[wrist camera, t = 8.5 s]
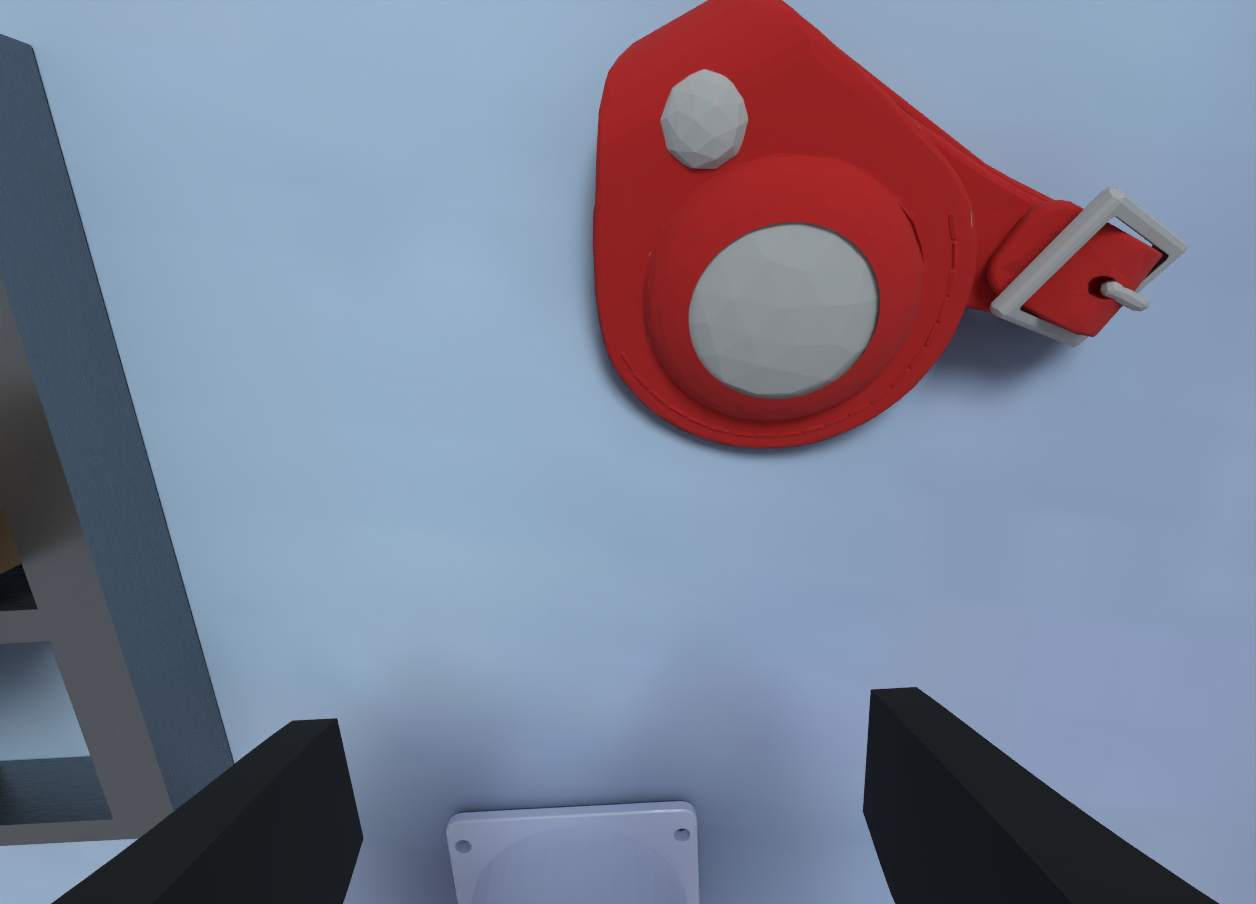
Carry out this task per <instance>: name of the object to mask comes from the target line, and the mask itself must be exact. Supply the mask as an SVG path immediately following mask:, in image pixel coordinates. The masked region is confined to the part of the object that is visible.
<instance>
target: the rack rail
mask: <svg viewBox="0 0 1256 904" xmlns="http://www.w3.org/2000/svg"><path fill="white" fill-rule="evenodd" d="M0 504H1V507H2V510H3V513H4V516H5V518H6V521H7V524H8V527H9V530H10V532H11V535H12V538H13V541H14V544H15V546H16V549H17V552H18V555H19V557H20V560H21V563H22V566H23V569H10V570H8V571H6V572H4V573H2V574H0V644H10V643H28V642H47V641H50V644H51V647H52V650H53V652H54V655H55V658H56V661H57V663H58V666H59V669H60V672H61V675H62V677H63V680H64V683H65V686H66V689H67V691H68V694H69V697H70V700H71V703H72V705H73V708H74V711H75V714H76V716H77V719H78V722H79V725H80V728H81V730H82V733H83V736H84V739H85V742H86V744H87V747H88V750H89V753H90V756H91V757H75V758H56V759H38V760H19V761H1V762H0V846H7V845H26V844H44V843H63V842H82V841H101V840H119V839H138V838H140V837H141V836H143V835H144V834H145V833H147V832H148V831H149V830H150V829H152V828H153V827H154V826H156V825H157V824H158V823H159V822H161V821H162V820H163V819H165V818H166V817H167V816H168V815H170V814H171V813H172V812H174V811H175V810H176V809H177V808H179V807H180V806H181V805H183V804H184V803H185V802H187V801H188V800H189V799H190V798H192V797H193V796H194V795H196V794H197V793H198V792H199V791H201V790H202V789H203V788H204V787H206V786H207V785H208V784H210V783H211V782H212V781H213V780H215V779H216V778H217V777H218V776H220V775H221V774H222V773H224V772H225V771H226V770H227V769H229V768H230V767H231V766H232V765H234V764H233V760H232V757H231V753H230V750H229V746H228V742H227V739H226V735H225V732H224V728H223V725H222V721H221V718H220V714H219V710H218V707H217V703H216V700H215V696H214V693H213V689H212V686H211V682H210V679H209V675H208V671H207V668H206V664H205V661H204V657H203V654H202V650H201V647H200V643H199V640H198V636H197V632H196V629H195V625H194V622H193V618H192V615H191V611H190V608H189V604H188V601H187V597H186V593H185V590H184V586H183V583H182V579H181V576H180V572H179V569H178V565H177V561H176V558H175V554H174V551H173V547H172V544H171V540H170V537H169V533H168V530H167V526H166V522H165V519H164V515H163V512H162V508H161V505H160V501H159V498H158V494H157V491H156V487H155V483H154V480H153V476H152V473H151V469H150V466H149V462H148V459H147V455H146V451H145V448H144V444H143V441H142V437H141V434H140V430H139V427H138V423H137V420H136V416H135V412H134V409H133V405H132V402H131V398H130V395H129V391H128V388H127V384H126V381H125V377H124V373H123V370H122V366H121V363H120V359H119V356H118V352H117V349H116V345H115V341H114V338H113V334H112V331H111V327H110V324H109V320H108V317H107V313H106V310H105V306H104V302H103V299H102V295H101V292H100V288H99V285H98V281H97V278H96V274H95V271H94V267H93V263H92V260H91V256H90V253H89V249H88V246H87V242H86V239H85V235H84V232H83V228H82V224H81V221H80V217H79V214H78V210H77V207H76V203H75V200H74V196H73V192H72V189H71V185H70V182H69V178H68V175H67V171H66V168H65V164H64V161H63V157H62V153H61V150H60V146H59V143H58V139H57V136H56V132H55V129H54V125H53V122H52V118H51V114H50V111H49V107H48V104H47V100H46V97H45V93H44V90H43V86H42V82H41V79H40V75H39V72H38V68H37V65H36V61H35V58H34V54H33V51H32V47H31V45H29V44H26V43H23V42H21V41H18V40H16V39H13V38H10V37H8V36H5V35H2V34H0Z"/></svg>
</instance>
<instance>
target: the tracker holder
mask: <svg viewBox="0 0 1256 904" xmlns="http://www.w3.org/2000/svg"><path fill="white" fill-rule="evenodd" d="M1113 217H1117V218H1118V219H1119V220H1121V221H1122V222H1123V223H1125V224H1126V225H1127V226H1129V227H1130V228H1131V229H1133V230H1134V231H1135V232H1137V233H1138V234H1139V235H1141V236H1142V237H1143V238H1145V239H1146V240H1147V241H1149V242H1150V243H1151V244H1153V245H1152V247H1150V246H1149V245H1147V244H1145V243H1143V242H1141V241H1140V240H1138V239H1136V238H1134V237H1133V236H1131V235H1129V234H1127V233H1126V232H1124V231H1122V230H1120V229H1119V228H1117V227H1115V226H1113V225H1111V224H1110V223H1108V221H1109V220H1110V219H1112V218H1113ZM1186 249H1187V245H1186V244H1185V243H1184V242H1183V241H1182V240H1180V239H1179V238H1178V237H1177V236H1175V235H1174V234H1173V233H1172V232H1171V231H1169V230H1168V229H1167V228H1166V227H1164V226H1163V225H1162V224H1161V223H1160V222H1158V221H1157V220H1156V219H1155V218H1153V217H1152V216H1151V215H1150V214H1149V213H1147V212H1146V211H1145V210H1144V209H1142V208H1141V207H1140V206H1139V205H1138V204H1136V203H1135V202H1134V201H1133V200H1131V199H1130V198H1129V197H1128V196H1126V195H1125V194H1124V193H1123V192H1122V191H1120V190H1119V189H1118V188H1113V187H1108V188H1107V189H1105V190H1103V191H1102V192H1101V193H1100V194H1099V195H1098V196H1097V197H1096V198H1095V199H1094V200H1093V201H1092V202H1091V203H1090V204H1089V205H1088V206H1087V207H1086V208H1085V209H1083V208H1081V207H1079V206H1077V205H1075V204H1074V203H1072V202H1070V201H1064V200H1053V199H1051V198H1049V197H1047V196H1045V195H1044V194H1042V193H1040V192H1038V191H1036V190H1034V189H1032V188H1030V187H1028V186H1026V185H1024V184H1022V183H1020V182H1018V181H1016V180H1014V179H1012V178H1010V177H1008V176H1006V175H1005V174H1003V173H1001V172H999V171H997V170H996V169H994V168H992V167H990V166H989V165H987V164H985V163H984V162H983V161H981V160H980V159H979V158H978V157H976V156H975V155H974V154H972V153H971V152H970V151H969V150H967V149H966V148H965V147H964V146H962V145H961V144H960V143H958V142H957V141H956V140H955V139H953V138H952V137H951V136H950V135H948V134H947V133H946V132H945V131H943V130H942V129H941V128H939V127H938V126H937V125H936V124H934V123H933V122H932V121H931V120H929V119H928V118H927V117H925V116H924V115H923V114H922V113H920V112H919V111H918V110H917V109H915V108H914V107H913V106H911V105H910V104H909V103H908V102H906V101H905V100H904V99H903V98H901V97H900V96H899V95H897V94H896V93H895V92H894V91H892V90H891V89H890V88H889V87H887V86H886V85H885V84H884V83H882V82H881V81H880V80H878V79H877V78H876V77H875V76H873V75H872V74H871V73H870V72H868V71H867V70H866V69H864V68H863V67H862V66H861V65H859V64H858V63H857V62H856V61H854V60H853V59H852V58H850V57H849V56H848V55H847V54H845V53H844V52H843V51H842V50H840V49H839V48H838V47H836V46H835V45H834V44H833V43H832V42H831V41H830V40H829V39H828V38H827V37H826V36H825V35H823V34H822V33H821V32H820V31H819V30H818V29H817V28H815V27H814V26H813V25H812V24H810V23H809V22H808V21H807V20H806V19H804V18H803V17H802V16H801V15H799V14H798V13H797V12H796V11H795V10H794V9H793V8H791V7H790V6H789V5H788V4H786V3H785V2H784V1H783V0H708V1H706V2H704V3H703V4H701V5H699V6H697V7H696V8H694V9H692V10H690V11H689V12H687V13H685V14H683V15H682V16H680V17H678V18H676V19H675V20H673V21H671V22H669V23H668V24H666V25H664V26H662V27H661V28H659V29H657V30H655V31H654V32H652V33H650V34H649V35H647V36H645V37H643V38H642V39H640V40H638V41H636V42H635V43H633V44H632V45H631V46H630V47H629V48H628V49H627V50H626V51H624V52H623V53H622V54H621V55H620V56H619V58H618V59H617V60H616V62H615V63H614V65H613V66H612V67H611V69H610V70H609V72H608V75H607V78H606V81H605V86H604V91H603V95H602V100H601V104H600V109H599V119H598V137H597V158H596V191H595V207H594V214H593V256H594V276H595V293H596V300H597V307H598V314H599V320H600V325H601V330H602V335H603V340H604V343H605V346H606V349H607V352H608V355H609V357H610V359H611V361H612V363H613V365H614V367H615V369H616V371H617V372H618V374H619V376H620V377H621V379H622V380H623V381H624V382H625V384H626V385H627V386H628V387H629V388H630V389H631V390H632V391H633V392H634V394H635V395H636V396H637V397H638V398H639V399H640V400H641V401H642V402H643V404H644V405H646V406H647V407H648V408H650V409H651V410H652V411H653V412H655V413H656V414H657V415H659V416H660V417H661V418H663V419H664V420H666V421H668V422H669V423H671V424H673V425H674V426H676V427H678V428H679V429H681V430H683V431H686V432H688V433H691V434H693V435H696V436H698V437H701V438H703V439H707V440H710V441H714V442H717V443H721V444H725V445H730V446H739V447H748V448H783V447H793V446H799V445H804V444H809V443H813V442H817V441H821V440H824V439H827V438H830V437H833V436H835V435H838V434H841V433H843V432H846V431H848V430H850V429H853V428H855V427H857V426H859V425H862V424H864V423H865V422H867V421H869V420H871V419H873V418H874V417H876V416H877V415H879V414H880V413H882V412H883V411H884V410H886V409H887V408H889V407H890V406H892V405H893V404H894V403H896V402H897V401H898V400H900V399H901V398H902V397H903V396H904V395H905V394H907V393H908V392H909V391H910V390H911V389H912V388H914V387H915V386H916V384H917V383H918V382H919V381H920V380H921V379H922V378H923V376H924V375H925V374H926V373H927V372H928V371H929V370H930V368H931V367H932V366H933V365H934V364H935V362H936V361H937V360H938V359H939V357H940V356H941V355H942V354H943V352H944V350H945V349H946V347H947V345H948V344H949V342H950V340H951V339H952V337H953V336H954V334H955V331H956V329H957V327H958V325H959V323H960V320H961V318H962V316H963V314H964V310H965V308H972V309H977V310H981V311H986V312H991V313H993V314H994V315H995V316H997V317H999V318H1002V319H1004V320H1007V321H1009V322H1012V323H1014V324H1017V325H1019V326H1022V327H1024V328H1027V329H1029V330H1032V331H1034V332H1037V333H1039V334H1042V335H1044V336H1047V337H1049V338H1052V339H1054V340H1057V341H1059V342H1062V343H1065V344H1067V345H1070V346H1073V347H1074V346H1076V345H1078V344H1080V343H1081V342H1082V341H1083V340H1085V339H1086V338H1087V337H1088V336H1090V337H1094V336H1096V335H1097V334H1098V333H1099V332H1100V330H1101V329H1102V328H1103V327H1104V326H1105V325H1106V324H1107V323H1108V321H1109V320H1110V319H1111V318H1112V317H1113V316H1114V315H1115V314H1116V312H1117V311H1118V310H1119V309H1120V308H1121V307H1122V306H1125V307H1127V308H1129V309H1131V310H1135V311H1142V310H1144V309H1146V308H1148V306H1149V304H1150V301H1149V300H1148V298H1147V297H1145V296H1143V295H1140V294H1138V292H1139V291H1141V290H1142V289H1143V288H1144V287H1145V286H1146V285H1147V284H1149V283H1150V282H1151V281H1152V280H1153V279H1154V278H1155V277H1157V276H1158V275H1159V274H1160V273H1161V272H1162V271H1163V270H1165V269H1166V268H1167V267H1168V266H1169V265H1170V264H1171V263H1173V262H1174V261H1175V260H1176V259H1177V258H1178V257H1179V256H1181V255H1182V254H1183V253H1184V252H1185V250H1186Z"/></svg>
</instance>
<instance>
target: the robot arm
mask: <svg viewBox="0 0 1256 904" xmlns="http://www.w3.org/2000/svg"><path fill="white" fill-rule="evenodd" d="M863 813H864V816H865V819H866V822H867V825H868V828H869V831H870V834H871V837H872V840H873V843H874V846H875V849H876V852H877V855H878V858H879V861H880V864H881V867H882V870H883V872H884V875H885V878H886V881H887V884H888V887H889V889H890V892H891V895H892V897H893V900H894V902H895V904H1219V903H1217V902H1216V901H1214V900H1213V899H1211V898H1210V897H1208V896H1207V895H1205V894H1203V893H1202V892H1200V891H1199V890H1197V889H1196V888H1194V887H1193V886H1191V885H1190V884H1188V883H1187V882H1185V881H1184V880H1182V879H1181V878H1179V877H1178V876H1177V875H1175V874H1174V873H1172V872H1171V871H1169V870H1168V869H1166V868H1165V867H1163V866H1162V865H1160V864H1159V863H1157V862H1156V861H1154V860H1153V859H1151V858H1150V857H1148V856H1147V855H1145V854H1144V853H1142V852H1141V851H1139V850H1138V849H1136V848H1135V847H1133V846H1132V845H1130V844H1129V843H1128V842H1126V841H1125V840H1123V839H1122V838H1120V837H1119V836H1117V835H1116V834H1115V833H1113V832H1112V831H1110V830H1109V829H1108V828H1106V827H1105V826H1103V825H1102V824H1100V823H1099V822H1098V821H1096V820H1095V819H1093V818H1092V817H1090V816H1089V815H1088V814H1086V813H1085V812H1083V811H1082V810H1081V809H1079V808H1078V807H1077V806H1075V805H1074V804H1072V803H1071V802H1070V801H1068V800H1067V799H1065V798H1064V797H1063V796H1061V795H1060V794H1059V793H1057V792H1056V791H1055V790H1053V789H1052V788H1050V787H1049V786H1048V785H1046V784H1045V783H1044V782H1042V781H1041V780H1040V779H1038V778H1037V777H1035V776H1034V775H1033V774H1031V773H1030V772H1029V771H1027V770H1026V769H1025V768H1023V767H1022V766H1021V765H1019V764H1018V763H1017V762H1015V761H1014V760H1013V759H1011V758H1010V757H1009V756H1007V755H1006V754H1005V753H1004V752H1002V751H1001V750H1000V749H998V748H997V747H996V746H994V745H993V744H992V743H990V742H989V741H988V740H986V739H985V738H984V737H982V736H981V735H980V734H978V733H977V732H976V731H975V730H973V729H972V728H971V727H969V726H968V725H967V724H965V723H964V722H963V721H961V720H960V719H959V718H957V717H956V716H955V715H954V714H952V713H951V712H950V711H948V710H947V709H946V708H944V707H943V706H942V705H940V704H939V703H938V702H936V701H935V700H934V699H932V698H931V697H929V696H928V695H927V694H925V693H924V692H922V691H921V690H920V689H918V688H917V687H910V688H892V689H873V690H871V695H870V710H869V726H868V741H867V757H866V772H865V788H864V803H863ZM681 828H682V829H686V830H683V831H678V829H681ZM446 837H447V843H448V849H449V854H450V860H451V866H452V872H453V878H454V883H455V889H456V895H457V901H458V904H699V870H698V836H697V817H696V811H695V808H694V807H693V806H692V805H691V804H690V803H688V802H684V801H672V802H653V803H634V804H615V805H597V806H578V807H559V808H540V809H522V810H503V811H484V812H465V813H458V814H455V815H454V816H452V817H451V818H450V820H449V822H448V825H447V829H446ZM461 840H465V841H468V842H463V841H461ZM362 841H363V834H362V829H361V825H360V820H359V816H358V811H357V807H356V802H355V798H354V793H353V788H352V784H351V779H350V775H349V770H348V766H347V761H346V757H345V752H344V747H343V743H342V738H341V734H340V729H339V725H338V720H337V718H335V719H316V720H297V721H291V722H290V723H288V724H287V725H286V726H284V727H283V728H281V729H280V730H279V731H277V732H276V733H274V734H273V735H272V736H270V737H269V738H268V739H266V740H265V741H264V742H262V743H261V744H260V745H258V746H257V747H256V748H254V749H253V750H252V751H250V752H249V753H248V754H247V755H245V756H244V757H243V758H241V759H240V760H239V761H238V762H236V763H235V764H234V765H232V766H231V767H230V768H229V769H227V770H226V771H225V772H224V773H222V774H221V775H220V776H218V777H217V778H216V779H215V780H213V781H212V782H211V783H210V784H208V785H207V786H206V787H204V788H203V789H202V790H201V791H199V792H198V793H197V794H196V795H194V796H193V797H192V798H190V799H189V800H188V801H187V802H185V803H184V804H183V805H181V806H180V807H179V808H177V809H176V810H175V811H174V812H172V813H171V814H170V815H168V816H167V817H166V818H165V819H163V820H162V821H161V822H159V823H158V824H157V825H156V826H154V827H153V828H152V829H150V830H149V831H148V832H147V833H145V834H144V835H143V836H141V837H140V838H139V839H138V840H136V841H135V842H134V843H132V844H131V845H130V846H129V847H127V848H126V849H125V850H123V851H122V852H121V853H119V854H118V855H117V856H115V857H114V858H113V859H111V860H110V861H109V862H107V863H106V864H105V865H103V866H102V867H100V868H99V869H98V870H96V871H95V872H94V873H92V874H91V875H90V876H88V877H87V878H85V879H84V880H83V881H81V882H80V883H79V884H77V885H76V886H75V887H73V888H72V889H70V890H69V891H68V892H66V893H65V894H64V895H62V896H61V897H60V898H58V899H57V900H56V901H54V902H53V903H51V904H343V902H344V899H345V896H346V893H347V890H348V887H349V884H350V880H351V877H352V874H353V871H354V867H355V864H356V861H357V857H358V854H359V851H360V848H361V844H362Z"/></svg>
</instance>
